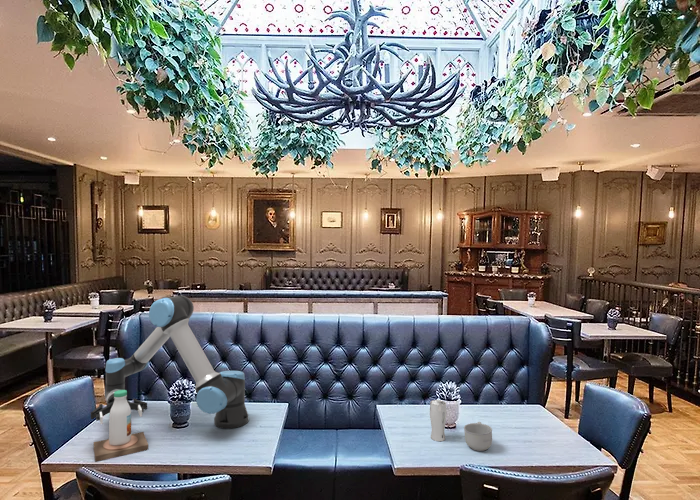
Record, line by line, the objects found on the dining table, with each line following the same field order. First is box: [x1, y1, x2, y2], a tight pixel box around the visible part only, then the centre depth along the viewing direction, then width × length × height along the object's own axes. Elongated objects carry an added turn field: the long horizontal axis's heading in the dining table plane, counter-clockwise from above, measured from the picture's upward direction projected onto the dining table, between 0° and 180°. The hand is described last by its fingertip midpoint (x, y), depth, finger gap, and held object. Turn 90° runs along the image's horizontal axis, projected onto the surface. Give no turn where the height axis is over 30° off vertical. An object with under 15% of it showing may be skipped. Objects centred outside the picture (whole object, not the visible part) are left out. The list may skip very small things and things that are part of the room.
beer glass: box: [429, 399, 448, 442], centre depth 179 cm, size 7×7×15 cm
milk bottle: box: [108, 389, 132, 446], centre depth 169 cm, size 8×8×20 cm
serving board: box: [93, 431, 149, 463], centre depth 169 cm, size 18×14×3 cm
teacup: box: [463, 421, 493, 452], centre depth 173 cm, size 14×11×8 cm
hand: (121, 417), depth 166 cm, fingers open, 13 cm apart
